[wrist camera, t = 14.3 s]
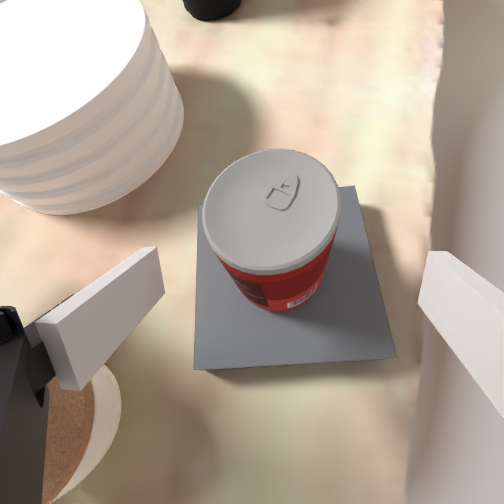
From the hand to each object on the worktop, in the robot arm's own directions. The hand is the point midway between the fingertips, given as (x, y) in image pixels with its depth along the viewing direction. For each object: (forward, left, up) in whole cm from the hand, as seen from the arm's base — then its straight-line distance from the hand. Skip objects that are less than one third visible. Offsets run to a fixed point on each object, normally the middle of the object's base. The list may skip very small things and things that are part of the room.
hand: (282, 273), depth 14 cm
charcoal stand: (0, +4, -14) cm, 14 cm away
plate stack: (-26, +29, -14) cm, 41 cm away
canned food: (0, +4, -11) cm, 12 cm away
